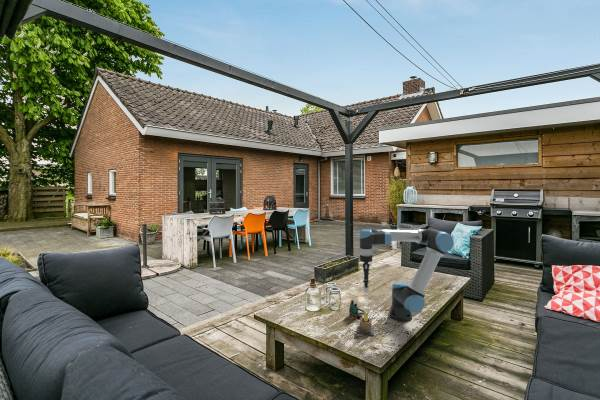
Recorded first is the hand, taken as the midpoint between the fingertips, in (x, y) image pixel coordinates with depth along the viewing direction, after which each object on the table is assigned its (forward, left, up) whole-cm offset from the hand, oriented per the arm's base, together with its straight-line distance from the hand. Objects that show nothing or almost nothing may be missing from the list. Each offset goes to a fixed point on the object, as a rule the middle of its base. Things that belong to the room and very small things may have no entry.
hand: (366, 288), depth 190 cm
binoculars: (+7, -16, -26) cm, 31 cm away
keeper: (0, +4, -26) cm, 26 cm away
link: (0, +4, -25) cm, 25 cm away
